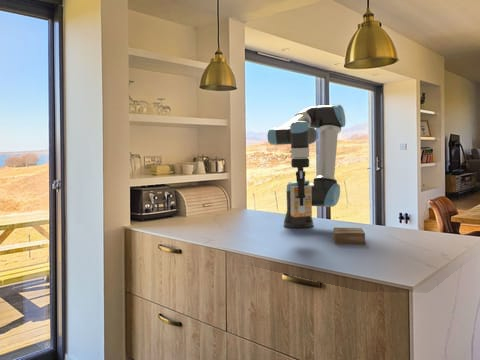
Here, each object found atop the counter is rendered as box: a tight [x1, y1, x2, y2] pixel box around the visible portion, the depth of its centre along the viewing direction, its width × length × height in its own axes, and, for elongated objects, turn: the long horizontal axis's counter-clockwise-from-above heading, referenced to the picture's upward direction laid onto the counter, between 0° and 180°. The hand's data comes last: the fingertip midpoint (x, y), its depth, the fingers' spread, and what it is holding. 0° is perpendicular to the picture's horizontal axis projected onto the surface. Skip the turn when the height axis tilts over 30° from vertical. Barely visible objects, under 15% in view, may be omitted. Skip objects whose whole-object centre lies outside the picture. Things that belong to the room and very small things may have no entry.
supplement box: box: [290, 186, 313, 217], centre depth 174 cm, size 8×5×13 cm, turn 101°
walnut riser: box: [333, 227, 366, 246], centre depth 173 cm, size 12×12×5 cm
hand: (301, 211), depth 174 cm, fingers closed on supplement box, 6 cm apart
